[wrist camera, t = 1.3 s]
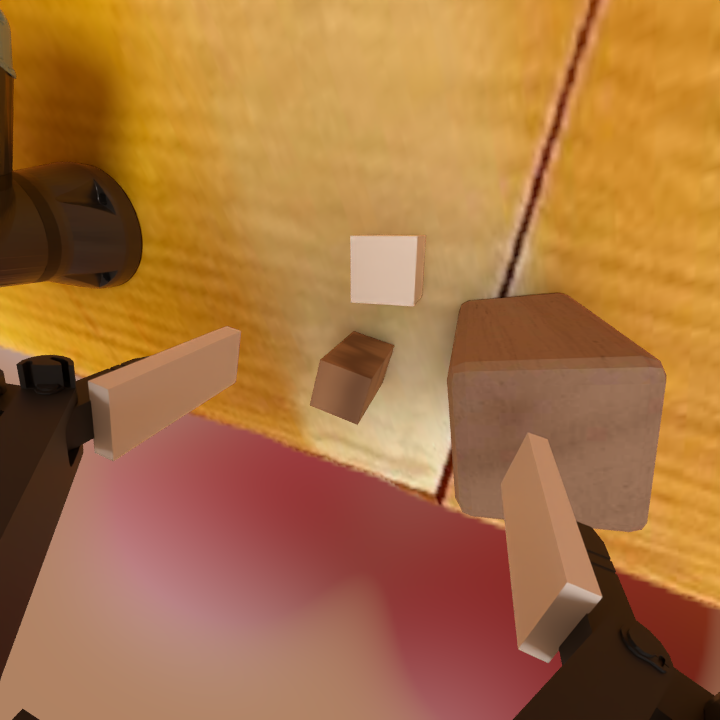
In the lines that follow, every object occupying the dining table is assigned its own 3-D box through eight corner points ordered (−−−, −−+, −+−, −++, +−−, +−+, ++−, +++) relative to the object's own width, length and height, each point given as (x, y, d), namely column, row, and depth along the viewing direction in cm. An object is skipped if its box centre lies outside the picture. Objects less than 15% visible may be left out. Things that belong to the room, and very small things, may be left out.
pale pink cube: (367, 292, 39) (350, 302, 34) (368, 234, 37) (350, 235, 32) (422, 295, 37) (413, 306, 32) (426, 235, 35) (417, 236, 30)
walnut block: (344, 368, 43) (309, 405, 34) (353, 331, 41) (320, 359, 32) (382, 382, 42) (357, 424, 33) (394, 345, 40) (371, 379, 31)
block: (565, 387, 36) (654, 543, 18) (463, 388, 40) (455, 521, 22) (569, 290, 33) (680, 362, 15) (459, 299, 36) (444, 369, 19)
